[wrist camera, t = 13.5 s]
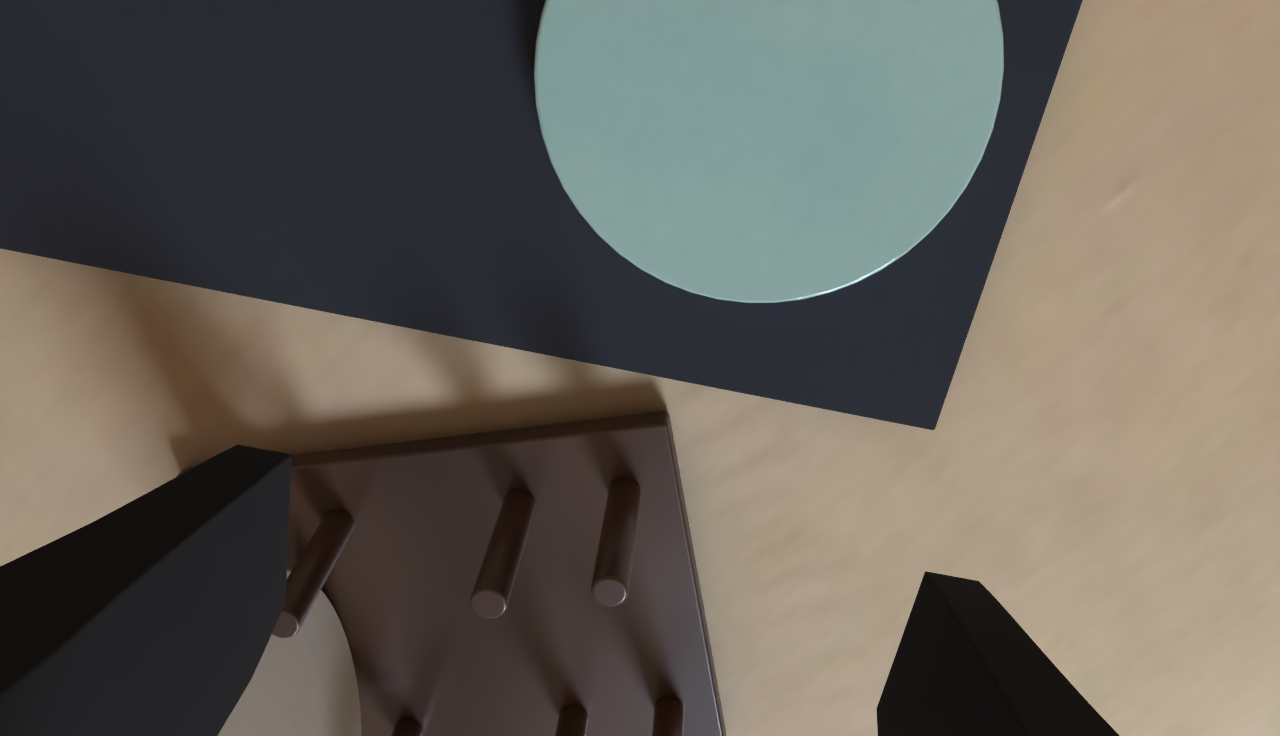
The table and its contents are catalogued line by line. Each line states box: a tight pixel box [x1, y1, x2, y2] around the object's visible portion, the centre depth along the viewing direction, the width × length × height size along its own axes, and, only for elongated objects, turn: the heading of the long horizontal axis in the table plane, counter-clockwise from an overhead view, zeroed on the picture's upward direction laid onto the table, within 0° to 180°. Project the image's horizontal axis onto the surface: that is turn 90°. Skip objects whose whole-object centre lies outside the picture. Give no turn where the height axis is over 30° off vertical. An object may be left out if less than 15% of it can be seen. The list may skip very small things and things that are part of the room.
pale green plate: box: [534, 0, 1004, 303], centre depth 19 cm, size 1×8×8 cm
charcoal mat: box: [0, 0, 1082, 430], centre depth 19 cm, size 20×13×1 cm, turn 80°
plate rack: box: [177, 412, 726, 736], centre depth 24 cm, size 11×9×4 cm
